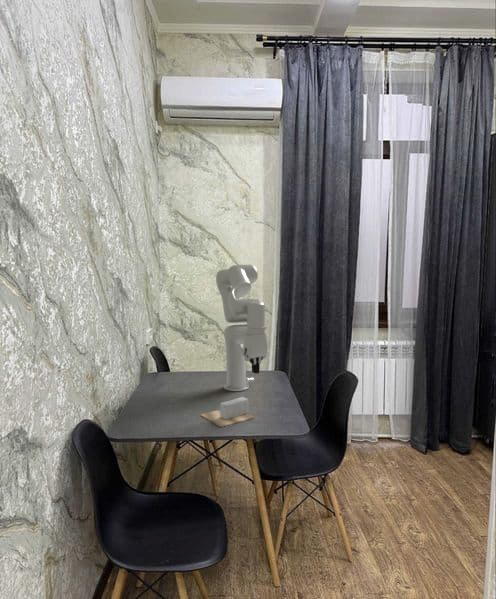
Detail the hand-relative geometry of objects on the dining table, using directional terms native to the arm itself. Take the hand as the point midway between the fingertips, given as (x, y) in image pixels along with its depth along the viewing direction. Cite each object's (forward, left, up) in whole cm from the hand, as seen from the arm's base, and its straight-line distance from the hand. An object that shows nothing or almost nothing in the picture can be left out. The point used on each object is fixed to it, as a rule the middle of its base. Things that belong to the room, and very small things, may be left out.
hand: (255, 372), depth 192 cm
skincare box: (+6, +1, -13) cm, 14 cm away
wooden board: (+15, +1, -16) cm, 22 cm away
